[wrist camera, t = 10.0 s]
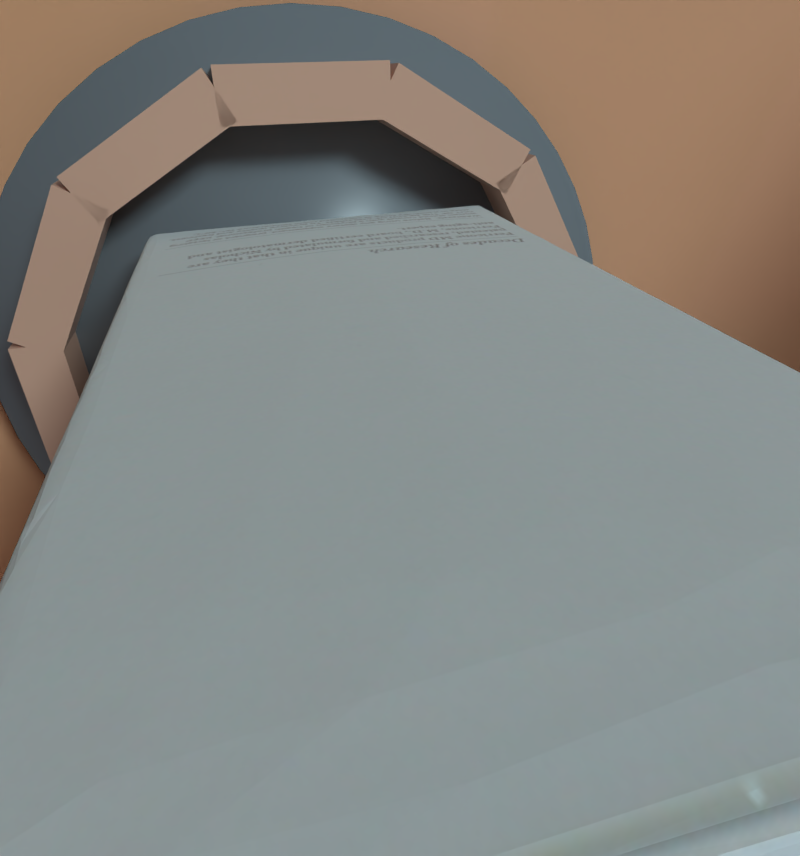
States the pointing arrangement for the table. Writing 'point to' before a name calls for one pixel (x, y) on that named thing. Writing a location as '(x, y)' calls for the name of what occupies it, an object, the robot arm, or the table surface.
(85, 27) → the table surface
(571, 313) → the supplement box
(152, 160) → the ring tray
